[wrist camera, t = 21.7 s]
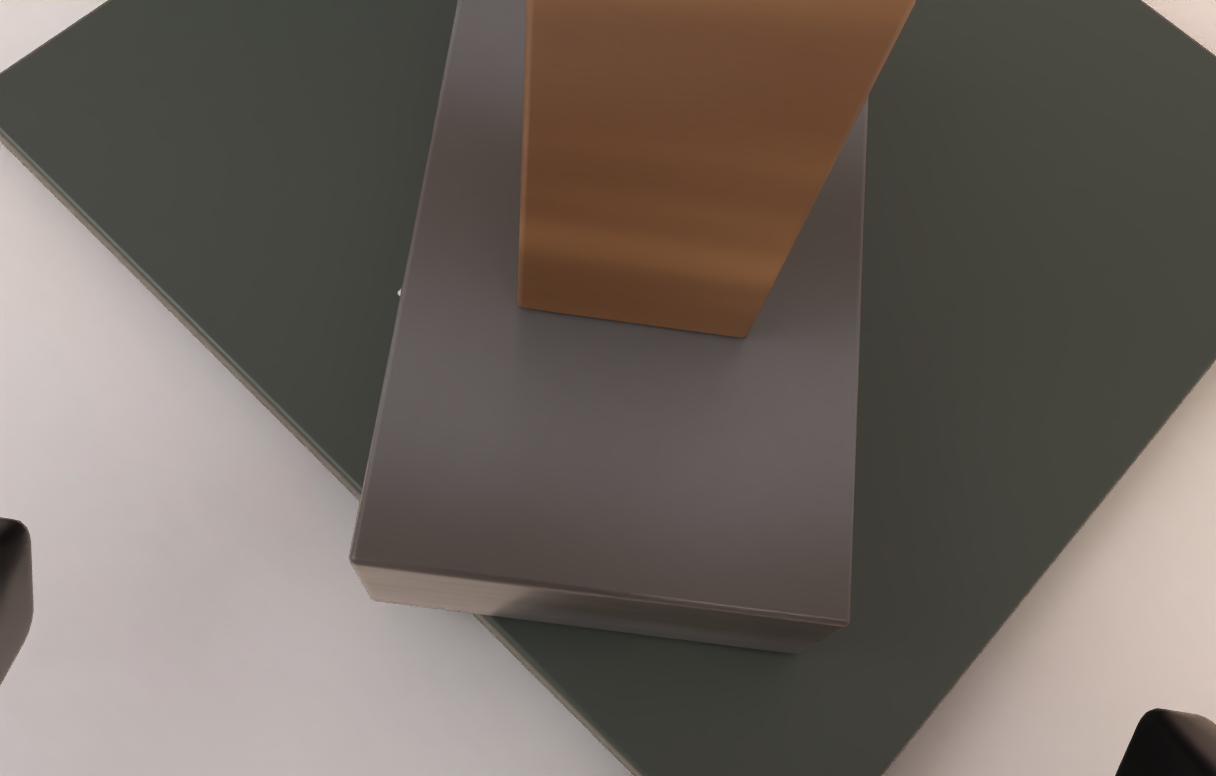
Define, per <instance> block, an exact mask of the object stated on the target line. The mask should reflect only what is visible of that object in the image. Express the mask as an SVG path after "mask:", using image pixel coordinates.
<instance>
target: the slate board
mask: <svg viewBox="0 0 1216 776" xmlns="http://www.w3.org/2000/svg"><path fill="white" fill-rule="evenodd" d="M457 1H458V0H108V1H106V2H105V3H103V4H102V5H100V6H99V7H98V8H96V9H95V10H93V11H92V12H90V13H89V14H87V15H86V16H84V17H83V18H81V19H80V20H78V21H77V22H75V23H74V24H72V25H71V26H69V27H68V28H66V29H65V30H63V31H62V32H61V33H59V34H58V35H56V36H55V37H53V38H52V39H50V40H49V41H47V42H46V43H44V44H43V45H41V46H40V47H38V48H37V49H35V50H34V51H32V52H31V53H29V54H28V55H26V56H25V57H24V58H22V59H21V60H19V61H18V62H16V63H15V64H13V65H12V66H10V67H9V68H7V69H6V70H4V71H3V72H1V73H0V141H1V142H2V143H3V144H4V145H5V146H6V147H7V148H8V149H9V150H10V151H11V152H12V153H13V154H14V155H15V156H16V157H17V158H18V159H19V160H20V161H21V162H22V163H23V164H24V165H25V166H26V167H27V168H28V169H29V170H30V171H31V172H32V173H33V174H34V175H35V176H36V177H37V178H38V179H39V180H40V181H41V182H42V183H43V184H44V185H45V186H46V187H47V188H48V189H49V190H50V191H51V192H52V193H53V194H54V195H55V196H56V197H57V198H58V199H59V200H60V201H61V202H62V203H63V204H64V205H65V206H66V207H67V208H68V209H69V210H70V211H71V212H72V213H73V214H74V215H75V216H76V217H77V218H78V219H79V220H80V221H81V222H82V223H83V224H84V225H85V226H86V227H87V228H88V229H89V230H90V231H91V232H92V233H93V234H94V235H95V236H96V237H97V238H98V239H99V240H100V241H101V242H102V243H103V244H104V245H105V246H106V247H107V248H108V249H109V250H110V251H111V252H112V253H113V254H114V255H115V256H116V257H117V258H118V259H119V260H120V261H121V262H122V263H123V264H124V265H125V266H126V267H127V268H128V269H129V270H130V271H131V272H132V273H133V274H134V275H135V276H136V277H137V278H138V279H139V280H140V281H141V282H142V283H143V284H144V285H145V286H146V287H147V288H148V289H149V290H150V291H151V292H152V293H153V294H154V295H155V296H156V297H157V298H158V299H159V300H160V301H161V302H162V303H163V304H164V305H165V306H166V307H167V308H168V309H169V310H170V311H171V312H172V313H173V314H174V315H175V316H176V317H177V318H178V319H179V320H180V321H181V322H182V323H183V324H184V325H185V326H186V327H187V328H188V329H189V330H190V331H191V332H192V333H193V334H194V335H195V336H196V337H197V338H198V339H199V340H200V341H201V342H202V343H203V344H204V345H205V346H206V347H207V348H208V349H209V350H210V351H211V352H212V353H213V355H214V356H215V357H216V358H217V359H218V360H219V361H220V362H221V363H222V364H223V365H224V366H225V367H226V368H227V369H228V370H229V371H230V372H231V373H232V374H233V375H234V376H235V377H236V378H237V379H238V380H239V381H240V382H241V383H242V384H243V385H244V386H245V387H246V388H247V389H248V390H249V391H250V392H251V393H252V394H253V395H254V396H255V397H256V398H257V399H258V400H259V401H260V402H261V403H262V404H263V405H264V406H265V407H266V408H267V409H268V410H269V411H270V412H271V413H272V414H273V415H274V416H275V417H276V418H277V419H278V420H279V421H280V422H281V423H282V424H283V425H284V426H285V427H286V428H287V429H288V430H289V431H290V432H291V433H292V434H293V435H294V436H295V437H296V438H297V439H298V440H299V441H300V442H301V443H302V444H303V445H304V446H305V447H306V448H307V449H308V450H309V451H310V452H311V453H312V454H313V455H314V456H315V457H316V458H317V459H318V460H319V461H320V462H321V463H322V464H323V465H324V466H325V467H326V468H327V469H328V470H329V471H330V472H331V473H332V474H333V475H334V476H335V477H336V478H337V479H338V480H339V481H340V482H341V483H342V484H343V485H344V486H345V487H346V488H347V489H348V490H349V491H350V492H351V493H352V494H353V495H354V496H355V497H356V498H357V499H358V500H359V501H360V499H361V494H362V489H363V483H364V478H365V473H366V468H367V463H368V458H369V453H370V448H371V442H372V437H373V432H374V427H375V422H376V417H377V412H378V406H379V401H380V396H381V391H382V386H383V381H384V376H385V371H386V365H387V360H388V355H389V350H390V345H391V340H392V335H393V329H394V324H395V319H396V314H397V309H398V304H399V299H400V294H401V288H402V283H403V278H404V273H405V268H406V263H407V258H408V252H409V247H410V242H411V237H412V232H413V227H414V222H415V217H416V211H417V206H418V201H419V196H420V191H421V186H422V181H423V175H424V170H425V165H426V160H427V155H428V150H429V145H430V140H431V134H432V129H433V124H434V119H435V114H436V109H437V104H438V98H439V93H440V88H441V83H442V78H443V73H444V68H445V63H446V57H447V52H448V47H449V42H450V37H451V32H452V27H453V21H454V16H455V11H456V6H457ZM1215 360H1216V56H1215V55H1214V54H1212V53H1211V52H1210V51H1208V50H1207V49H1206V48H1204V47H1203V46H1202V45H1200V44H1199V43H1198V42H1196V41H1195V40H1194V39H1192V38H1191V37H1190V36H1188V35H1187V34H1186V33H1184V32H1183V31H1182V30H1180V29H1179V28H1178V27H1176V26H1175V25H1174V24H1172V23H1171V22H1170V21H1168V20H1167V19H1166V18H1164V17H1163V16H1162V15H1160V14H1159V13H1158V12H1156V11H1155V10H1154V9H1152V8H1151V7H1150V6H1148V5H1147V4H1146V3H1144V2H1143V1H1142V0H917V1H916V3H915V5H914V7H913V9H912V11H911V13H910V15H909V16H908V18H907V20H906V22H905V24H904V26H903V28H902V30H901V32H900V34H899V36H898V38H897V40H896V42H895V44H894V46H893V48H892V50H891V52H890V54H889V56H888V58H887V60H886V62H885V64H884V66H883V68H882V70H881V72H880V74H879V76H878V78H877V80H876V82H875V84H874V86H873V88H872V90H871V92H870V94H869V100H868V128H867V156H866V184H865V212H864V241H863V269H862V297H861V325H860V353H859V382H858V410H857V438H856V466H855V494H854V523H853V551H852V579H851V607H850V622H849V624H848V626H847V627H845V628H843V629H842V630H840V631H838V632H836V633H835V634H833V635H831V636H829V637H828V638H826V639H824V640H822V641H821V642H819V643H817V644H815V645H814V646H812V647H810V648H808V649H807V650H805V651H803V652H801V653H798V654H790V653H782V652H775V651H767V650H759V649H751V648H743V647H735V646H727V645H719V644H711V643H703V642H696V641H688V640H680V639H672V638H664V637H656V636H648V635H640V634H632V633H624V632H617V631H609V630H601V629H593V628H585V627H577V626H569V625H561V624H553V623H545V622H538V621H530V620H522V619H514V618H506V617H498V616H490V615H482V614H474V613H472V614H473V615H474V616H475V617H476V618H477V619H478V620H479V621H480V622H481V623H482V624H483V625H484V626H485V627H486V628H487V629H488V630H489V631H490V632H491V633H492V634H493V635H494V636H495V637H496V638H497V639H498V640H499V641H500V642H501V643H502V644H503V645H504V646H505V647H506V648H507V649H508V650H509V651H510V652H511V653H512V654H513V655H514V656H515V657H516V658H517V659H518V660H519V661H520V662H521V663H522V664H523V665H524V666H525V667H526V668H527V669H528V670H529V671H530V672H531V673H532V674H533V675H534V676H535V677H536V678H537V679H538V680H539V681H540V682H541V683H542V684H543V685H544V686H545V687H546V688H547V689H548V690H549V691H550V692H551V693H552V694H553V695H554V696H555V697H556V698H557V699H558V700H559V701H560V702H561V703H562V704H563V705H564V706H565V707H566V708H567V709H568V710H569V711H570V712H571V713H572V714H573V715H574V716H575V717H576V718H577V719H578V720H579V721H580V722H581V723H582V724H583V725H584V726H585V727H586V728H587V729H588V730H589V731H590V732H591V733H592V734H593V735H594V736H595V737H596V738H597V739H598V740H599V741H600V742H601V743H602V744H603V745H604V746H605V747H606V748H607V749H608V750H609V751H610V752H611V753H612V754H613V755H614V756H615V757H616V758H617V759H618V760H619V761H620V762H621V763H622V764H623V765H624V766H625V767H626V768H627V769H628V770H629V771H630V772H631V773H632V774H633V775H634V776H882V775H883V774H884V773H885V771H886V770H887V769H888V768H889V766H890V765H891V764H892V763H893V761H894V760H895V759H896V758H897V756H898V755H899V754H900V753H901V751H902V750H903V749H904V748H905V746H906V745H907V744H908V743H909V741H910V740H911V739H912V738H913V736H914V735H915V734H916V733H917V732H918V730H919V729H920V728H921V727H922V725H923V724H924V723H925V722H926V720H927V719H928V718H929V717H930V715H931V714H932V713H933V712H934V710H935V709H936V708H937V707H938V705H939V704H940V703H941V702H942V700H943V699H944V698H945V697H946V695H947V694H948V693H949V692H950V690H951V689H952V688H953V687H954V685H955V684H956V683H957V682H958V680H959V679H960V678H961V677H962V675H963V674H964V673H965V672H966V670H967V669H968V668H969V667H970V666H971V664H972V663H973V662H974V661H975V659H976V658H977V657H978V656H979V654H980V653H981V652H982V651H983V649H984V648H985V647H986V646H987V644H988V643H989V642H990V641H991V639H992V638H993V637H994V636H995V634H996V633H997V632H998V631H999V629H1000V628H1001V627H1002V626H1003V624H1004V623H1005V622H1006V621H1007V619H1008V618H1009V617H1010V616H1011V614H1012V613H1013V612H1014V611H1015V609H1016V608H1017V607H1018V606H1019V604H1020V603H1021V602H1022V601H1023V600H1024V598H1025V597H1026V596H1027V595H1028V593H1029V592H1030V591H1031V590H1032V588H1033V587H1034V586H1035V585H1036V583H1037V582H1038V581H1039V580H1040V578H1041V577H1042V576H1043V575H1044V573H1045V572H1046V571H1047V570H1048V568H1049V567H1050V566H1051V565H1052V563H1053V562H1054V561H1055V560H1056V558H1057V557H1058V556H1059V555H1060V553H1061V552H1062V551H1063V550H1064V548H1065V547H1066V546H1067V545H1068V543H1069V542H1070V541H1071V540H1072V539H1073V537H1074V536H1075V535H1076V534H1077V532H1078V531H1079V530H1080V529H1081V527H1082V526H1083V525H1084V524H1085V522H1086V521H1087V520H1088V519H1089V517H1090V516H1091V515H1092V514H1093V512H1094V511H1095V510H1096V509H1097V507H1098V506H1099V505H1100V504H1101V502H1102V501H1103V500H1104V499H1105V497H1106V496H1107V495H1108V494H1109V492H1110V491H1111V490H1112V489H1113V487H1114V486H1115V485H1116V484H1117V482H1118V481H1119V480H1120V479H1121V477H1122V476H1123V475H1124V474H1125V473H1126V471H1127V470H1128V469H1129V468H1130V466H1131V465H1132V464H1133V463H1134V461H1135V460H1136V459H1137V458H1138V456H1139V455H1140V454H1141V453H1142V451H1143V450H1144V449H1145V448H1146V446H1147V445H1148V444H1149V443H1150V441H1151V440H1152V439H1153V438H1154V436H1155V435H1156V434H1157V433H1158V431H1159V430H1160V429H1161V428H1162V426H1163V425H1164V424H1165V423H1166V421H1167V420H1168V419H1169V418H1170V416H1171V415H1172V414H1173V413H1174V411H1175V410H1176V409H1177V408H1178V407H1179V405H1180V404H1181V403H1182V402H1183V400H1184V399H1185V398H1186V397H1187V395H1188V394H1189V393H1190V392H1191V390H1192V389H1193V388H1194V387H1195V385H1196V384H1197V383H1198V382H1199V380H1200V379H1201V378H1202V377H1203V375H1204V374H1205V373H1206V372H1207V370H1208V369H1209V368H1210V367H1211V365H1212V364H1213V363H1214V362H1215Z"/></svg>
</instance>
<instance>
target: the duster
mask: <svg viewBox="0 0 1216 776" xmlns="http://www.w3.org/2000/svg"><path fill="white" fill-rule="evenodd" d="M916 1H917V0H458V1H457V6H456V11H455V16H454V21H453V27H452V32H451V37H450V42H449V47H448V52H447V57H446V63H445V68H444V73H443V78H442V83H441V88H440V93H439V98H438V104H437V109H436V114H435V119H434V124H433V129H432V134H431V140H430V145H429V150H428V155H427V160H426V165H425V170H424V175H423V181H422V186H421V191H420V196H419V201H418V206H417V211H416V217H415V222H414V227H413V232H412V237H411V242H410V247H409V252H408V258H407V263H406V268H405V273H404V278H403V283H402V288H401V294H400V299H399V304H398V309H397V314H396V319H395V324H394V329H393V335H392V340H391V345H390V350H389V355H388V360H387V365H386V371H385V376H384V381H383V386H382V391H381V396H380V401H379V406H378V412H377V417H376V422H375V427H374V432H373V437H372V442H371V448H370V453H369V458H368V463H367V468H366V473H365V478H364V483H363V489H362V494H361V499H360V504H359V509H358V514H357V519H356V525H355V530H354V535H353V540H352V545H351V550H350V555H349V558H350V563H351V564H352V566H353V568H354V570H355V571H356V573H357V575H358V577H359V578H360V580H361V582H362V583H363V585H364V587H365V589H366V590H367V592H368V594H369V596H370V597H371V599H373V600H375V601H379V602H387V603H395V604H403V605H411V606H419V607H427V608H435V609H443V610H451V611H458V612H466V613H474V614H482V615H490V616H498V617H506V618H514V619H522V620H530V621H538V622H545V623H553V624H561V625H569V626H577V627H585V628H593V629H601V630H609V631H617V632H624V633H632V634H640V635H648V636H656V637H664V638H672V639H680V640H688V641H696V642H703V643H711V644H719V645H727V646H735V647H743V648H751V649H759V650H767V651H775V652H782V653H790V654H798V653H801V652H803V651H805V650H807V649H808V648H810V647H812V646H814V645H815V644H817V643H819V642H821V641H822V640H824V639H826V638H828V637H829V636H831V635H833V634H835V633H836V632H838V631H840V630H842V629H843V628H845V627H847V626H848V624H849V622H850V607H851V579H852V551H853V523H854V494H855V466H856V438H857V410H858V382H859V353H860V325H861V297H862V269H863V241H864V212H865V184H866V156H867V128H868V100H869V94H870V92H871V90H872V88H873V86H874V84H875V82H876V80H877V78H878V76H879V74H880V72H881V70H882V68H883V66H884V64H885V62H886V60H887V58H888V56H889V54H890V52H891V50H892V48H893V46H894V44H895V42H896V40H897V38H898V36H899V34H900V32H901V30H902V28H903V26H904V24H905V22H906V20H907V18H908V16H909V15H910V13H911V11H912V9H913V7H914V5H915V3H916Z"/></svg>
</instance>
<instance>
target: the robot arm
mask: <svg viewBox="0 0 1216 776" xmlns="http://www.w3.org/2000/svg"><path fill="white" fill-rule="evenodd" d="M32 617H33V583H32V558H31V540H30V534H29V531H28V529H27V527H26V526H25V525H24V524H23V523H22V522H21V521H18V520H14V519H8V518H2V517H0V685H1V683H2V682H3V680H4V678H5V676H6V674H7V672H8V671H9V669H10V667H11V665H12V663H13V662H14V660H15V658H16V656H17V654H18V653H19V651H20V649H21V647H22V645H23V643H24V641H25V639H26V637H27V635H28V632H29V630H30V626H31V622H32ZM1115 776H1216V724H1214V723H1213V722H1212V721H1210V720H1209V719H1207V718H1205V717H1203V716H1200V715H1197V714H1191V713H1185V712H1179V711H1172V710H1166V709H1160V708H1156V709H1153V710H1150V711H1148V712H1146V713H1145V715H1144V716H1143V717H1142V718H1141V720H1140V721H1139V723H1138V725H1137V727H1136V729H1135V732H1134V734H1133V736H1132V739H1131V741H1130V743H1129V745H1128V748H1127V750H1126V752H1125V754H1124V757H1123V759H1122V761H1121V763H1120V766H1119V768H1118V770H1117V773H1116V775H1115Z"/></svg>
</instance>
